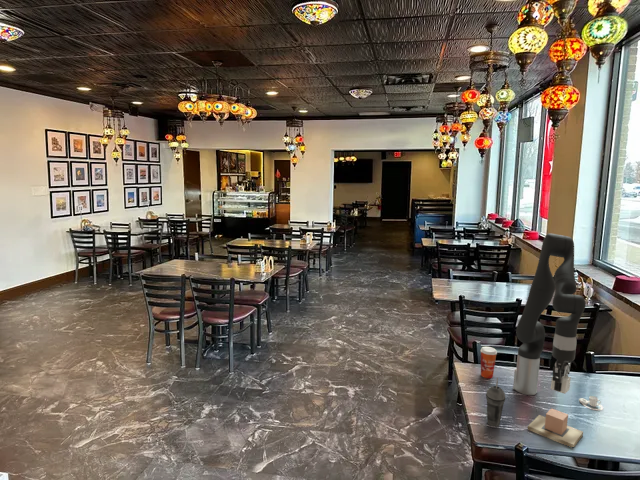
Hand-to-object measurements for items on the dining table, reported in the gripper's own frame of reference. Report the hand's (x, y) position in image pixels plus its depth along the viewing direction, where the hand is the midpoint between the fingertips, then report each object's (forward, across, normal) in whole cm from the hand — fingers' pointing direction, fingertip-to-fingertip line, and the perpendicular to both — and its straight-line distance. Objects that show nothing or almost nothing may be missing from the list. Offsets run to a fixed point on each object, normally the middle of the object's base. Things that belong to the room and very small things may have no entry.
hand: (559, 388), depth 164 cm
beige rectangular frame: (+18, 0, 0) cm, 18 cm away
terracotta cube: (+17, 0, 0) cm, 17 cm away
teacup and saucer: (+19, -37, +2) cm, 42 cm away
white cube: (0, 0, 0) cm, 0 cm away
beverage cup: (+18, +12, -19) cm, 29 cm away
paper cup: (+18, -27, -40) cm, 52 cm away
